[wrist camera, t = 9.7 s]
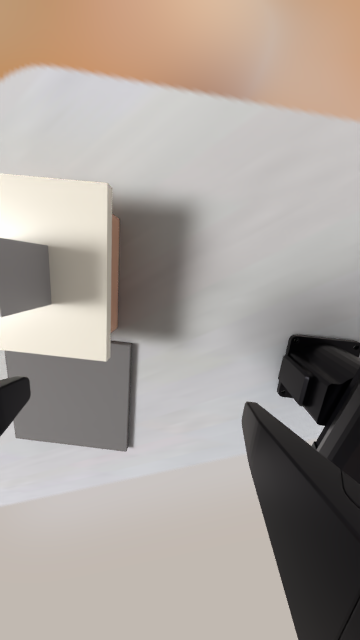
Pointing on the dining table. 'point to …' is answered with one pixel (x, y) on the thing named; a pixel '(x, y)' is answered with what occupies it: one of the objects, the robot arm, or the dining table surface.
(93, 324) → the lid
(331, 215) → the dining table surface
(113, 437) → the mat
